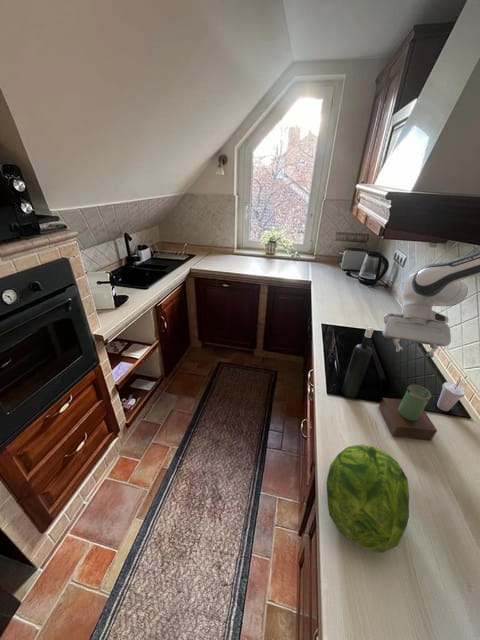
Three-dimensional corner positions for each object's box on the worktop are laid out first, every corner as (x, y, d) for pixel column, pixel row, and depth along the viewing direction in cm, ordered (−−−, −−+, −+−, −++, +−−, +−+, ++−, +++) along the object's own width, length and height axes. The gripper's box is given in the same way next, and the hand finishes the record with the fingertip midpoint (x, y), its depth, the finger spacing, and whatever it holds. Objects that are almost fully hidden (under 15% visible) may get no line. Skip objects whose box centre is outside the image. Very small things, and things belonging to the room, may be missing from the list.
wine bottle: (345, 385, 102) (365, 321, 87) (359, 393, 99) (383, 328, 83) (338, 392, 99) (358, 327, 84) (352, 400, 95) (375, 334, 80)
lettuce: (424, 467, 66) (372, 410, 68) (441, 564, 46) (367, 479, 49) (365, 486, 75) (321, 435, 78) (358, 572, 56) (300, 501, 58)
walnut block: (412, 410, 92) (417, 400, 89) (430, 440, 82) (437, 430, 79) (378, 407, 93) (382, 397, 90) (392, 436, 82) (397, 426, 80)
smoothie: (432, 408, 93) (448, 380, 86) (432, 398, 97) (448, 370, 90) (453, 417, 90) (472, 388, 83) (453, 405, 94) (471, 377, 87)
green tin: (413, 406, 87) (424, 385, 82) (422, 421, 82) (435, 399, 77) (394, 404, 88) (404, 383, 83) (402, 419, 82) (414, 398, 77)
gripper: (387, 309, 89) (384, 347, 86) (454, 318, 85) (453, 359, 82) (381, 314, 95) (378, 350, 92) (442, 323, 91) (442, 361, 88)
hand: (414, 354), depth 87 cm, fingers open, 8 cm apart
